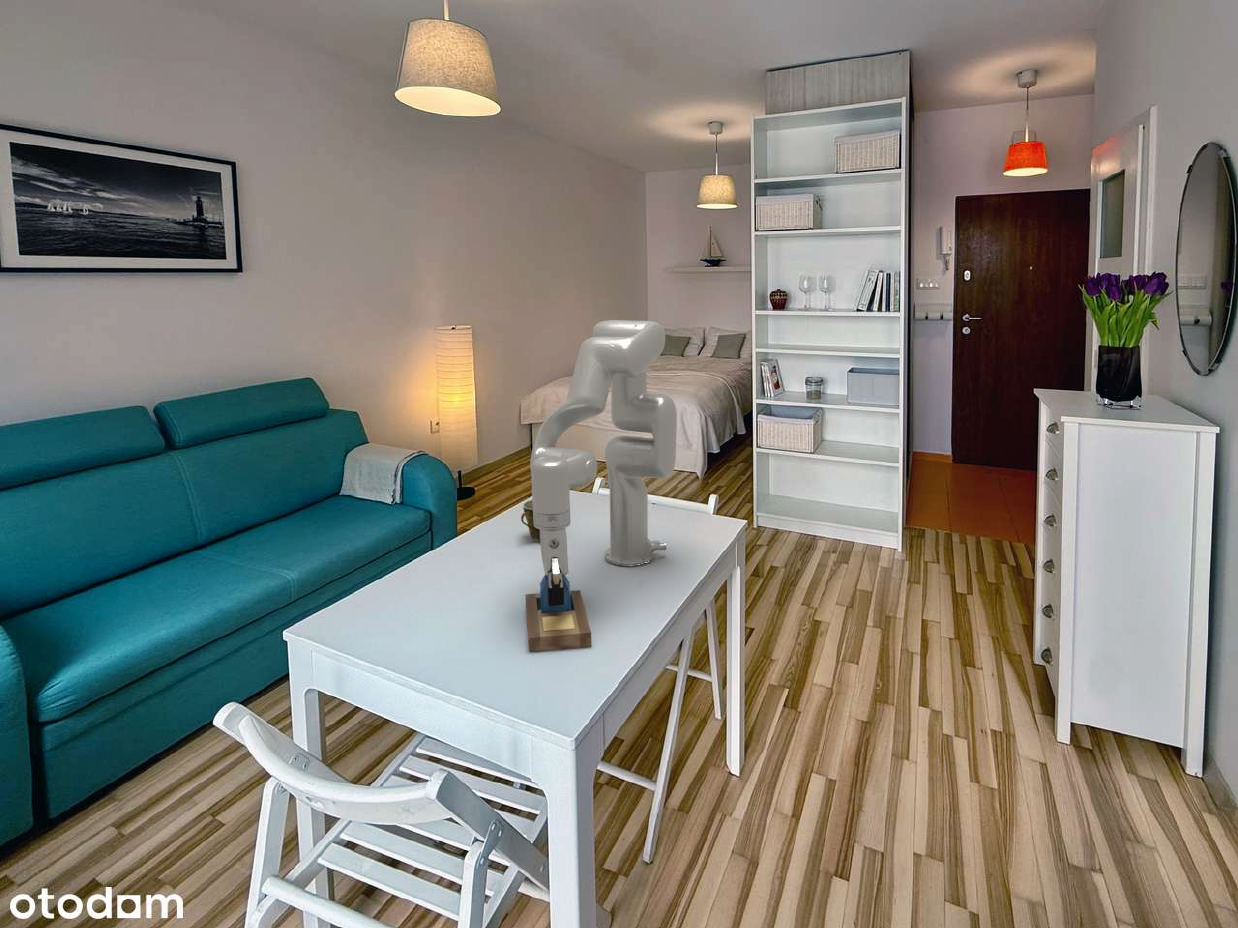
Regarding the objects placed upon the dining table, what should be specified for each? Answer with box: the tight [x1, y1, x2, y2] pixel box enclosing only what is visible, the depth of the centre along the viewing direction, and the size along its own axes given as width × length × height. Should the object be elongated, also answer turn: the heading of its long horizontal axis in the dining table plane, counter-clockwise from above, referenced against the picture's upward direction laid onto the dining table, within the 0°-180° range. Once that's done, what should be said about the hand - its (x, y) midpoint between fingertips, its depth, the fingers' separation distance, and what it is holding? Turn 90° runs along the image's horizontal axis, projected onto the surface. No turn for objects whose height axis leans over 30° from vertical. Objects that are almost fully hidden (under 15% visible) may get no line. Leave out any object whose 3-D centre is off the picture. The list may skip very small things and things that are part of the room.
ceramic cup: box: [520, 499, 540, 544], centre depth 198 cm, size 13×10×10 cm
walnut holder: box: [525, 589, 592, 653], centre depth 151 cm, size 12×20×3 cm, turn 9°
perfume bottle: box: [539, 560, 572, 613], centre depth 153 cm, size 6×6×12 cm
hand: (554, 594), depth 154 cm, fingers open, 9 cm apart
